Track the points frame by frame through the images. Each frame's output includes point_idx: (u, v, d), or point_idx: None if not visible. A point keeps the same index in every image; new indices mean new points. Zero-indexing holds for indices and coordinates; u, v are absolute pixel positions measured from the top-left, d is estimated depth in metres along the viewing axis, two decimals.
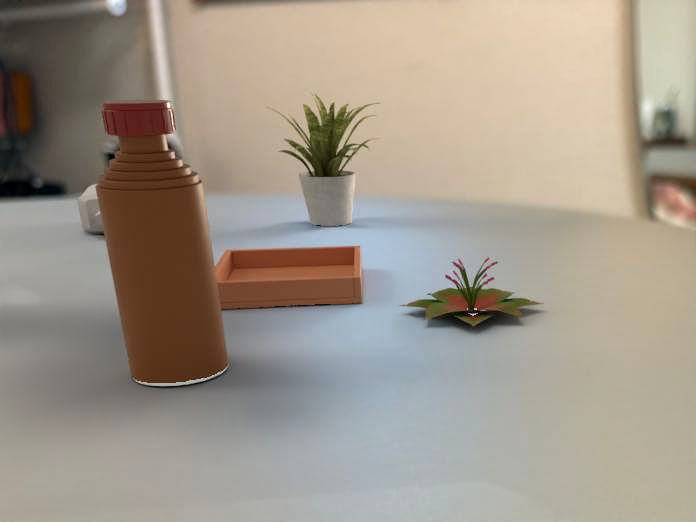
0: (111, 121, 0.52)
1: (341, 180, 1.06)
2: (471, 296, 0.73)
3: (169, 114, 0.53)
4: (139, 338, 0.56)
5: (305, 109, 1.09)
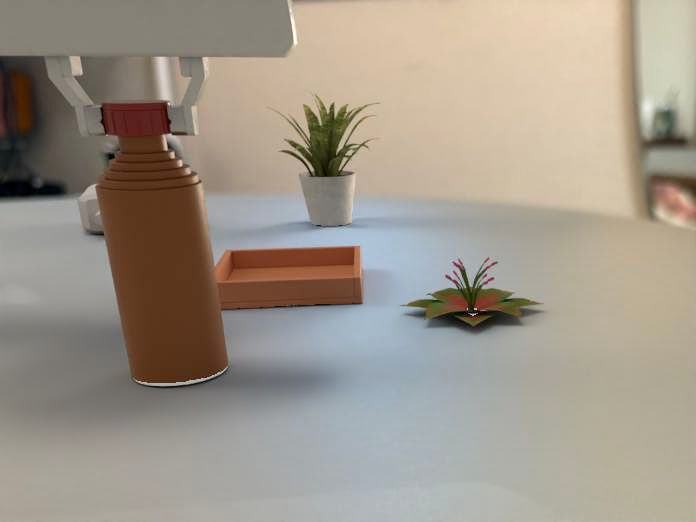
0: (111, 121, 0.52)
1: (341, 180, 1.06)
2: (471, 296, 0.73)
3: None
4: (139, 338, 0.56)
5: (305, 109, 1.09)
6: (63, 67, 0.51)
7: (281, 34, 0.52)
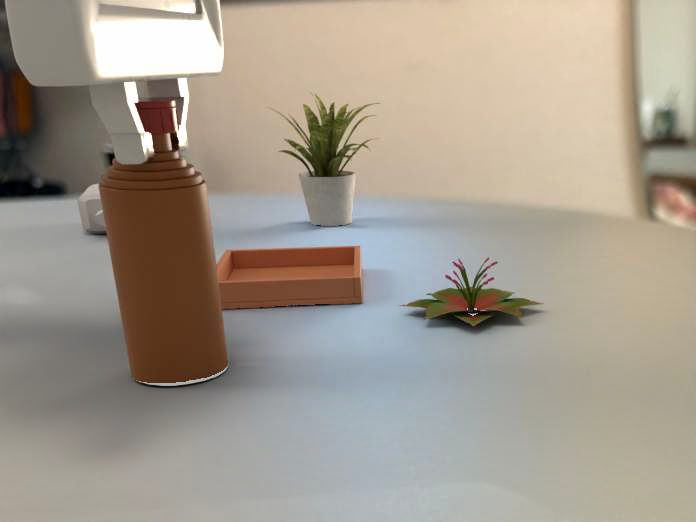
0: (159, 119, 0.52)
1: (341, 180, 1.06)
2: (471, 296, 0.73)
3: None
4: (139, 338, 0.56)
5: (305, 109, 1.09)
6: (133, 93, 0.50)
7: (222, 55, 0.61)
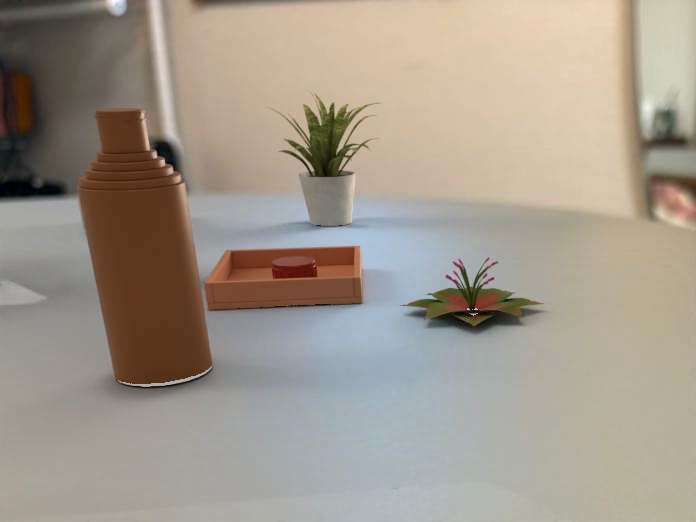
0: None
1: (341, 180, 1.06)
2: (471, 296, 0.73)
3: (304, 272, 0.79)
4: (122, 339, 0.56)
5: (305, 109, 1.09)
6: None
7: None
